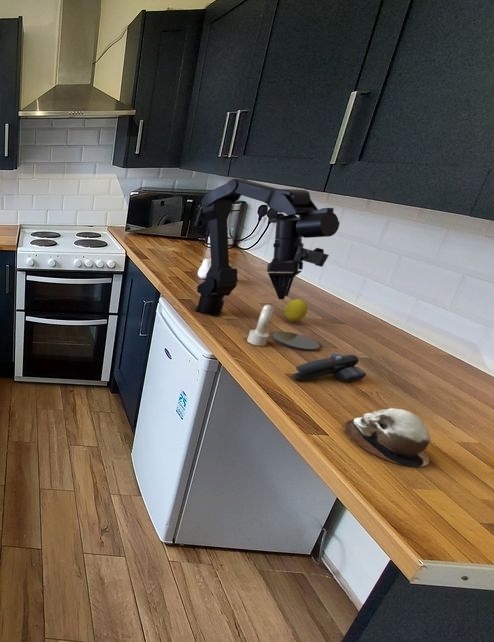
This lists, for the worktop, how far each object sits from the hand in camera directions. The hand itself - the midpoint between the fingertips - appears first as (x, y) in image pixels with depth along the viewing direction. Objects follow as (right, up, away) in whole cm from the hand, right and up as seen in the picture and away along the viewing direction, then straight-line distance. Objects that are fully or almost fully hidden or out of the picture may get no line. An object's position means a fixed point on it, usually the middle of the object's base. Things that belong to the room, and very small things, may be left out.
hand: (283, 297), depth 108 cm
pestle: (-3, -12, +6) cm, 14 cm away
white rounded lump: (+15, +16, +58) cm, 62 cm away
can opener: (+2, -20, -11) cm, 23 cm away
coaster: (+9, -12, +7) cm, 16 cm away
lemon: (+18, -7, +20) cm, 28 cm away
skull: (-5, -30, -32) cm, 44 cm away
